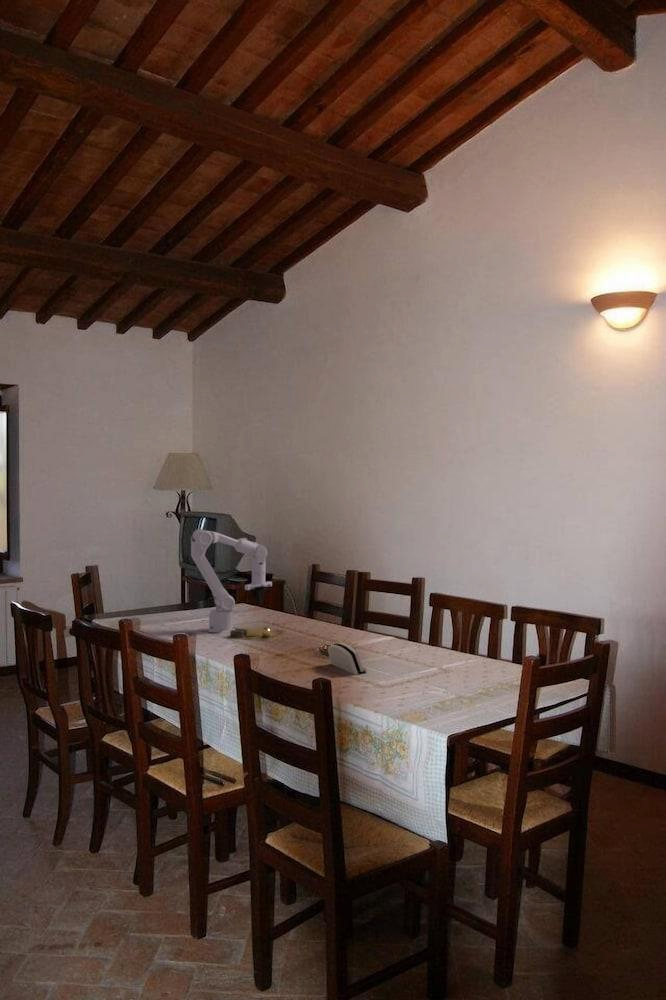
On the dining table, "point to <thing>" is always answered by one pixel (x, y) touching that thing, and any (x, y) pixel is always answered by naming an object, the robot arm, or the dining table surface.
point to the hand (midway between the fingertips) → (258, 605)
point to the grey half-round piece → (345, 658)
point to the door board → (240, 635)
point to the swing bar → (255, 631)
